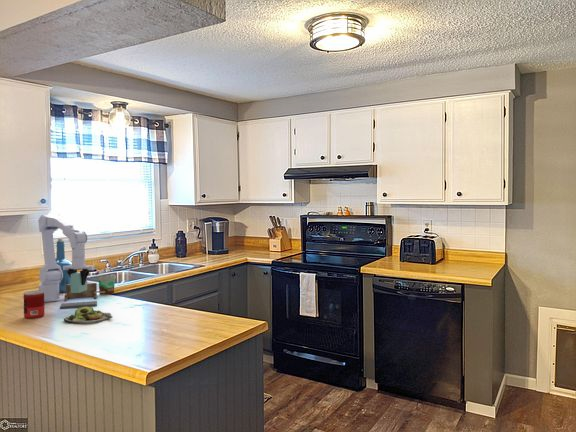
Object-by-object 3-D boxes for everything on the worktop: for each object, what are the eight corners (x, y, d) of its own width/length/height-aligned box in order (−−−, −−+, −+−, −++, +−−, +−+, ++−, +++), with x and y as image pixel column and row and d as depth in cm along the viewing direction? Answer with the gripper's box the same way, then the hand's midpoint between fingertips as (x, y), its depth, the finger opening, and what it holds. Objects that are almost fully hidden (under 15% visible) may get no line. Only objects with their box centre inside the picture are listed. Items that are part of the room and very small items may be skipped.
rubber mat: (60, 308, 216) (60, 306, 216) (61, 305, 224) (61, 303, 224) (96, 306, 222) (96, 304, 222) (97, 302, 230) (96, 300, 230)
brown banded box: (64, 301, 234) (64, 287, 234) (66, 297, 243) (65, 284, 243) (96, 298, 240) (96, 285, 240) (96, 295, 248) (96, 282, 248)
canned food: (48, 315, 204) (48, 290, 203) (33, 319, 196) (32, 294, 196) (35, 314, 206) (35, 289, 206) (19, 318, 198) (19, 293, 198)
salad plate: (124, 316, 202) (124, 306, 202) (96, 326, 185) (96, 315, 185) (88, 313, 208) (87, 303, 208) (57, 323, 191) (57, 312, 191)
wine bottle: (78, 289, 268) (78, 238, 267) (63, 293, 255) (63, 239, 254) (57, 288, 270) (57, 237, 269) (41, 292, 257) (41, 239, 256)
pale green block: (70, 292, 219) (70, 274, 219) (79, 289, 227) (79, 271, 227) (78, 292, 219) (78, 274, 219) (87, 289, 227) (86, 271, 227)
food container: (108, 295, 249) (107, 277, 249) (97, 294, 251) (97, 276, 250) (120, 291, 262) (120, 273, 261) (110, 290, 263) (110, 273, 263)
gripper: (96, 256, 226) (97, 283, 226) (68, 255, 227) (68, 283, 227) (89, 257, 219) (90, 285, 219) (60, 257, 220) (60, 285, 220)
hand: (78, 284), depth 223 cm, fingers closed on pale green block, 4 cm apart
